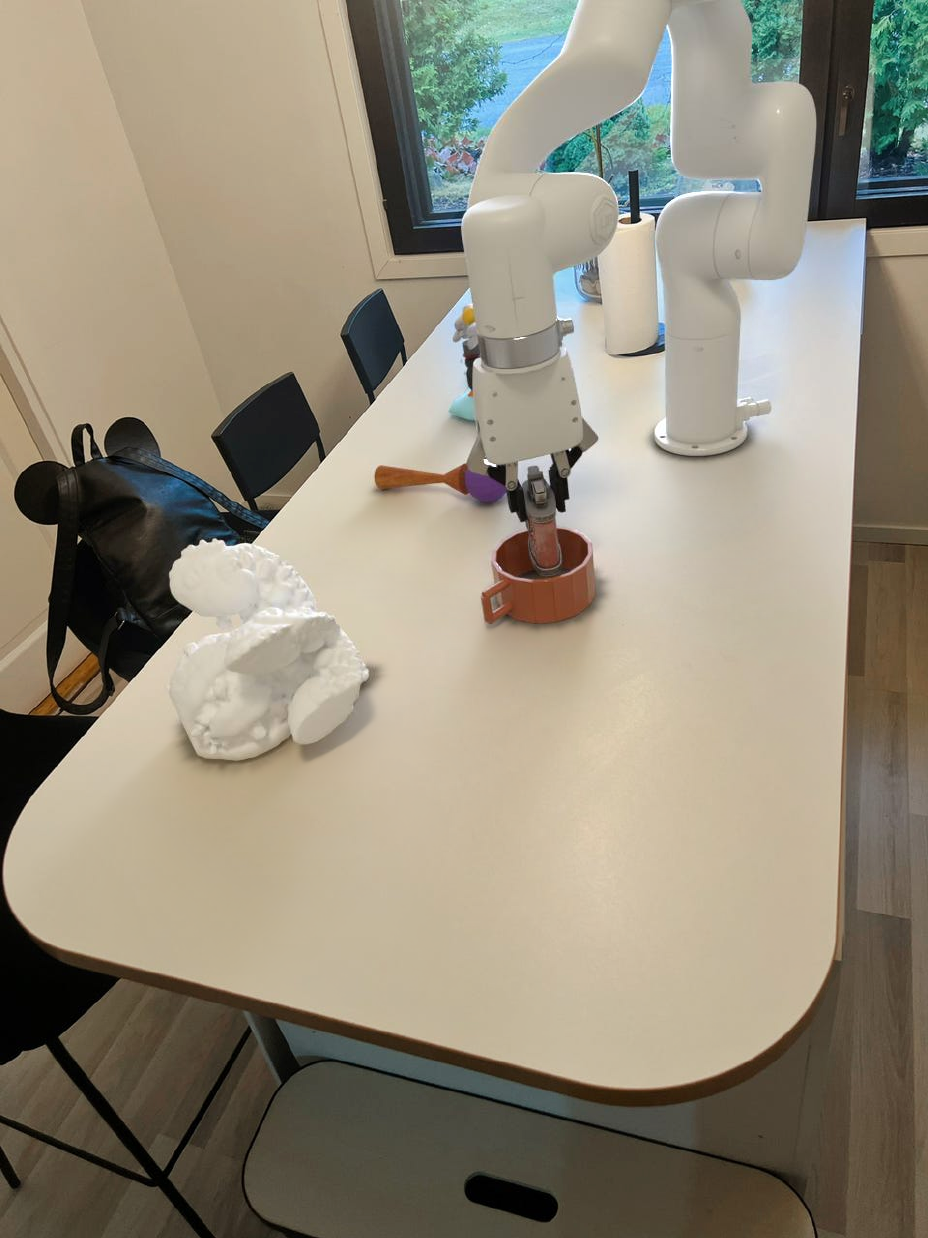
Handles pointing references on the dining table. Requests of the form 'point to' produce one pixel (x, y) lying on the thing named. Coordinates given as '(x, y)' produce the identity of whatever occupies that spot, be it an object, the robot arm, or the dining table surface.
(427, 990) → the dining table surface
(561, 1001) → the dining table surface
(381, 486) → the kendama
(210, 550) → the cauliflower
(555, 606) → the mug
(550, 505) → the lighter
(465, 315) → the penguin figurine
